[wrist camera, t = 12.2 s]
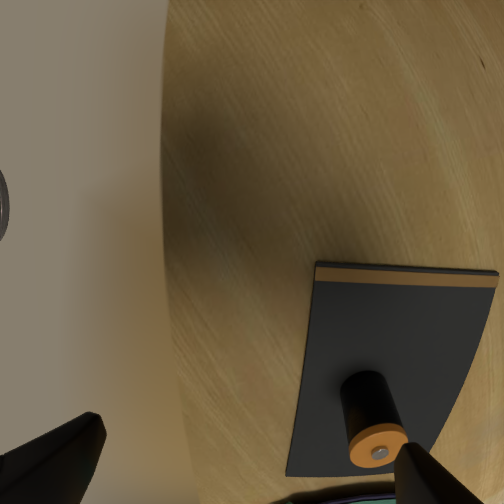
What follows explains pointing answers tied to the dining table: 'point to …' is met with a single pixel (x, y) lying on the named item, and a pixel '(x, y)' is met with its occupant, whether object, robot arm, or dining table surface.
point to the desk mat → (385, 353)
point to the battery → (371, 420)
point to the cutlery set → (364, 499)
